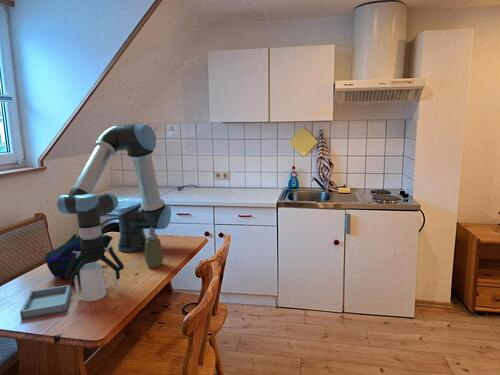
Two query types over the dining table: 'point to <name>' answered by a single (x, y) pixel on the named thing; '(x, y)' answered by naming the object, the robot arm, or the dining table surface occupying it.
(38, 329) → the dining table surface
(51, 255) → the decorative plant
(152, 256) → the squeeze bottle
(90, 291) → the mug
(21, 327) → the dining table surface
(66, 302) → the slate tray
